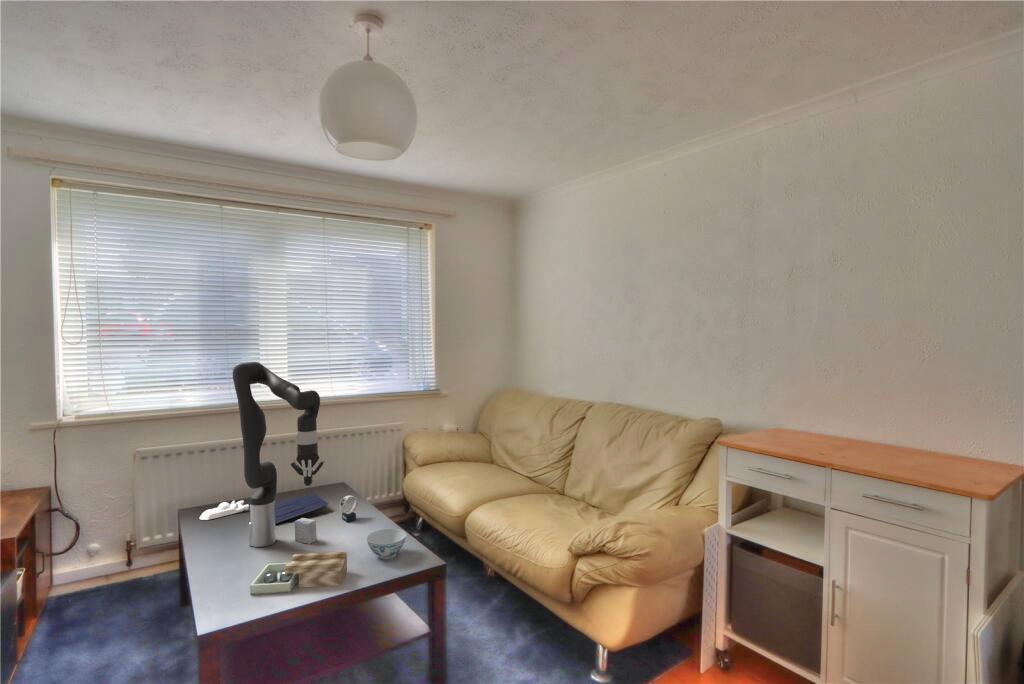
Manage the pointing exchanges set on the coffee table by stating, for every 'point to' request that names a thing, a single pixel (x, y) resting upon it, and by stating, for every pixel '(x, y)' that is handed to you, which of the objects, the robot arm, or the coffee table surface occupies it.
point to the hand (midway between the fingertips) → (308, 485)
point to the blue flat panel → (297, 507)
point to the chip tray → (276, 587)
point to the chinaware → (386, 542)
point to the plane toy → (224, 510)
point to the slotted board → (318, 568)
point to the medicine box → (305, 530)
